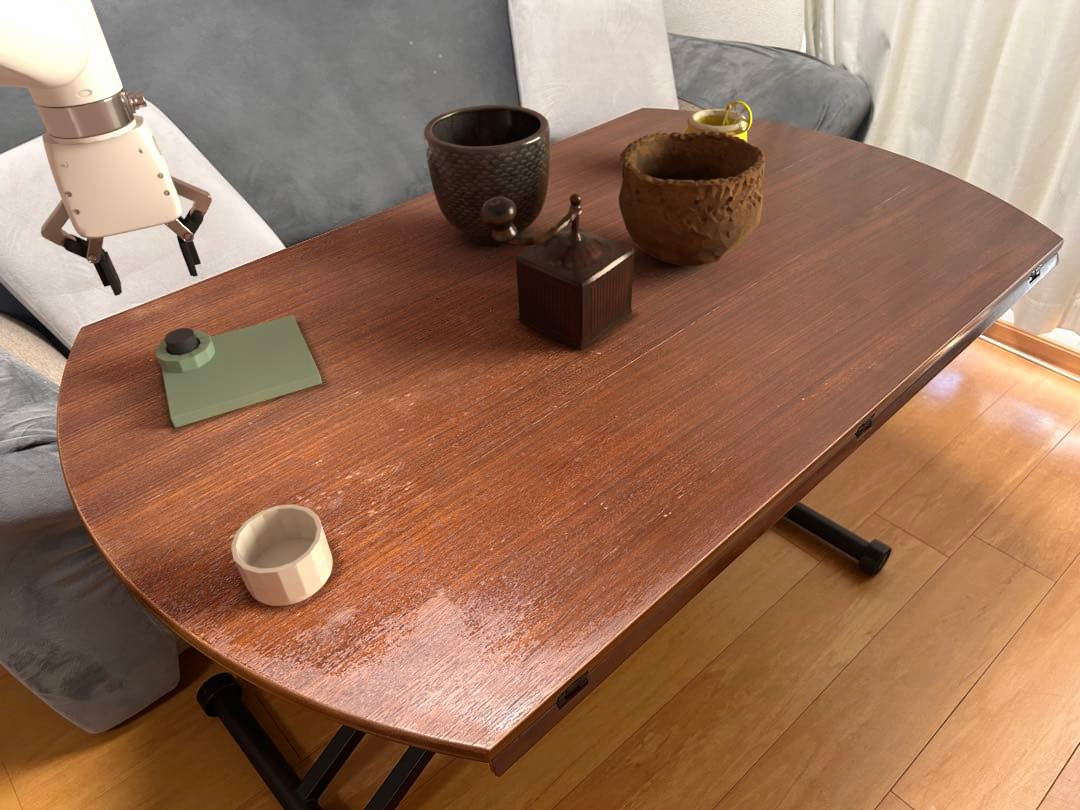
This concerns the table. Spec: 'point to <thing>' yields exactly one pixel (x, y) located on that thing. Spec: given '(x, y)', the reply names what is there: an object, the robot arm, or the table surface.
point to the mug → (721, 121)
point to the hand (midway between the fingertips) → (155, 279)
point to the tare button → (181, 341)
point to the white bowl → (282, 555)
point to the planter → (488, 165)
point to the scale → (236, 370)
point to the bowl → (691, 194)
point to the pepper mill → (566, 276)
